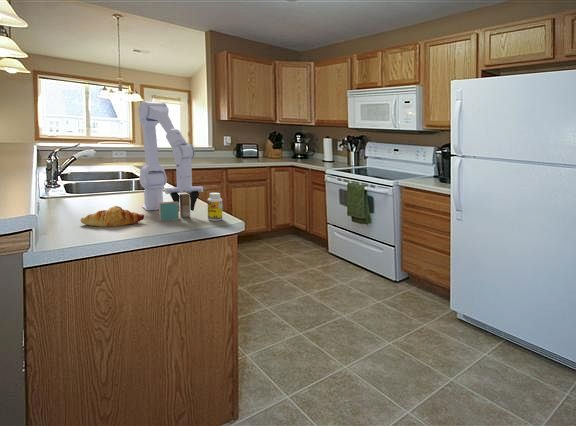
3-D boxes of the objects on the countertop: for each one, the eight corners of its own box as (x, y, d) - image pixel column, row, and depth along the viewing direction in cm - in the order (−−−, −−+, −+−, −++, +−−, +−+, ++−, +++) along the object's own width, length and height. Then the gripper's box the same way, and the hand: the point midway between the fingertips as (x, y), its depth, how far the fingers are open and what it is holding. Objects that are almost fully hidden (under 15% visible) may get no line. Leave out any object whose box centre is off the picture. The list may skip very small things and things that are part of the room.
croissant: (80, 237, 142) (76, 219, 137) (83, 218, 150) (79, 201, 145) (145, 232, 149) (143, 215, 144) (144, 214, 156) (143, 198, 151)
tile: (159, 220, 154) (158, 202, 153) (178, 219, 158) (177, 201, 156) (160, 221, 153) (159, 203, 151) (179, 219, 156) (178, 201, 155)
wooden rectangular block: (180, 216, 162) (179, 193, 160) (187, 215, 163) (187, 193, 161) (182, 218, 159) (182, 195, 157) (190, 217, 160) (189, 194, 159)
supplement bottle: (204, 219, 157) (204, 193, 155) (214, 217, 162) (213, 191, 160) (216, 221, 155) (215, 195, 152) (225, 219, 159) (225, 193, 157)
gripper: (167, 178, 151) (169, 214, 154) (205, 176, 158) (206, 211, 161) (163, 176, 157) (164, 210, 160) (199, 174, 164) (200, 208, 167)
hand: (185, 210), depth 161 cm, fingers open, 5 cm apart
